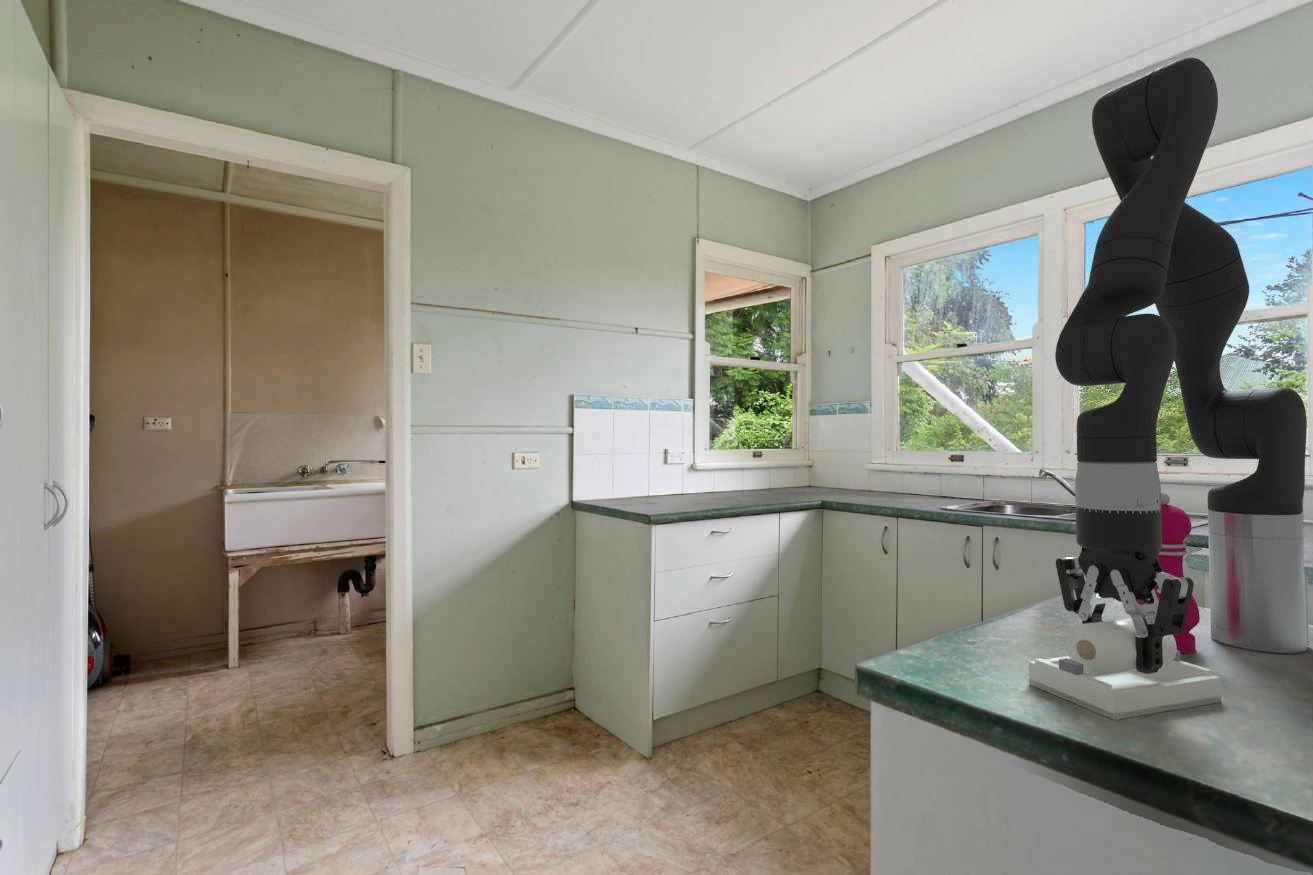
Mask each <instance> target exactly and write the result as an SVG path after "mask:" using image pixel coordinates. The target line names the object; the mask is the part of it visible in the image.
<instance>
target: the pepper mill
mask: <svg viewBox="0 0 1313 875" xmlns="http://www.w3.org/2000/svg"><path fill="white" fill-rule="evenodd" d="M1170 500H1171V498H1170V495H1168V494H1167V493H1165V492H1164V491H1163V492H1162V491H1161V520H1162V548H1161V550H1160V552H1159V555H1158V559H1159V563H1160V565H1161V567H1162V568H1163V572H1165V573H1168V574H1170V575H1173V576H1175V577H1178V578H1181V577H1185V575H1184V568H1183V564H1184V563H1183V561H1184V556H1185V555H1187V554H1188V551H1187V549H1186V548H1187V546H1188V544H1187V543H1185V542H1184V540H1185V539H1186V538H1187V537H1188V536H1189V535H1190V534H1191V532H1192V520H1191V518H1190V516H1189V515H1188V514H1187V512H1186V511H1185V510H1183V509H1182V508H1179V507H1177V506H1175V505H1171V504H1169V503H1170ZM1157 589H1159V586H1158V584H1157V585H1156V586H1155V587H1154V590H1155V593H1156V596H1157V598H1158V601H1159V599H1160V595H1161V594H1159V593H1158V592H1157ZM1137 603H1138V604H1139V605H1143V604H1144V601H1143V600H1142V601H1140V602H1137ZM1145 616H1146V615H1145ZM1200 619H1201V615H1200V609H1199V606H1198V603H1197V601H1196V599H1195V598H1194V595H1193V594H1192V596H1191V601H1190V605H1189V610H1188V614H1187V619H1186V623H1185V628H1184V632H1183V633H1181V634H1175V635H1173V636H1174V638H1175V641H1176V647H1177V650H1179V651H1180V654H1189V653H1193V652H1195V651H1196V636H1195V635H1194V634H1192V633H1191V631H1192V630H1193V629H1194V628H1195V627H1197V626H1198V624H1199V622H1200Z"/></svg>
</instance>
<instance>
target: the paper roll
mask: <svg viewBox="0 0 1313 875" xmlns="http://www.w3.org/2000/svg"><path fill="white" fill-rule="evenodd" d="M1146 619H1147V618H1146ZM1102 621H1103V622H1094V623H1086V624H1082V623H1081V624H1080V623H1079V624H1074V625H1072V626H1071V627H1070V628H1069V629H1068V631H1067V633H1066V636H1065V643H1064V644H1065V648H1066V653H1067V656H1069V658H1070V659H1071V660H1073V661H1075V662H1078V663H1081V664H1083V672H1084V673H1085V674H1087V675H1091V676H1099V675H1106V674H1113V673H1120V672H1127V671H1134V670H1137V669H1136V639H1135V636H1139V635H1138V634H1137V632H1136V629H1135V626H1134V623H1133V621H1132V618H1131V617H1129V618H1121V619H1111V620H1102ZM1147 622H1148V621H1147ZM1148 624H1149V623H1148ZM1162 649H1163V654H1162V655H1163V658H1162V659H1163V665H1162V666H1166V665H1168V664H1170V663H1171V662H1172V661H1173V660H1174V658H1175V656H1176V651H1177V647H1176V641H1175V638H1174V636H1173V635H1167V636H1164V637H1163V639H1162Z"/></svg>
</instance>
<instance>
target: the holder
mask: <svg viewBox="0 0 1313 875" xmlns="http://www.w3.org/2000/svg"><path fill="white" fill-rule="evenodd" d="M1028 677H1029V678H1028V679H1029V680H1028V682H1029V685H1030V686H1033V687H1035V688H1038V689H1039V690H1040V689H1041V690H1043V691H1045V692H1046V693H1049V694H1051V695H1054V696H1057V697H1059V698H1061V699H1064V700H1066V701H1069V703H1073V704H1075V705H1078V706H1080V707H1083V708H1085V709H1087V710H1090V711H1092V712H1094V713H1096V714H1099V715H1101V716H1104V717H1106V718H1108V719H1110V720H1113V721H1118V720H1122V719H1128V718H1129V719H1130V718H1134V717H1135V718H1136V717H1141V716H1146V715H1152V714H1153V715H1154V714H1158V713H1159V714H1160V713H1164V712H1169V711H1176V710H1182V709H1189V708H1193V707H1200V706H1205V705H1211V704H1216V703H1221V702H1222V686H1221V684H1222V683H1221V682H1222V681H1221V677H1220V676H1217V675H1214V674H1213V670H1212V669H1210V668H1207V667H1203V666H1200V665H1196V664H1193V663H1191V662H1186V661H1183V660H1181V653H1180V651H1179V650H1177V651H1176V656H1175V658H1174V660H1173V661H1172V662H1171V663H1170V664H1168V665H1166V666H1162V667H1161V668H1160V669H1159V670H1158V672H1156V673H1150V674H1144V673H1141V672H1138V671H1137V670H1134V671H1127V672H1120V673H1113V674H1106V675H1099V676H1091V675H1087V674H1085V673H1084V672H1083V664H1081V663H1078V662H1075V661H1073V660H1071V659H1070V658H1069V655H1067V656H1061V657H1051V658H1046V659H1045V658H1035V659H1034V660H1030V661H1028Z"/></svg>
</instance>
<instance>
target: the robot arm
mask: <svg viewBox="0 0 1313 875" xmlns="http://www.w3.org/2000/svg"><path fill="white" fill-rule="evenodd" d="M1218 108H1219V93H1218V86H1217V83H1216V80H1215V77H1214V75H1213V73H1212V71H1211V70H1210V68H1209V67H1208V66H1207V63H1205V61H1203V60H1201V59H1199V58H1196V57H1191V56H1190V57H1184V58H1181V59H1178V60H1175V61H1173V62H1170V63H1168V64H1166V65H1162V66H1160V67H1158V68H1156V69H1155V70H1152V71H1150V72H1148V73H1146V74H1143V75H1141V76H1139V77H1137V78H1135V79H1133V80H1131V81H1128V82H1126V83H1124V84H1122V85H1119V86H1117V87H1115V88H1114V89H1111V90H1109V91H1108V92H1105V93H1103V94H1102V95H1101V96H1099V97H1098V99H1097V100H1096V102H1095V103H1094V106H1093V108H1092V113H1091V125H1092V133H1093V136H1094V140H1095V143H1096V146H1097V150H1098V152H1099V155H1100V157H1101V159H1102V160H1101V161H1102V162H1103V164H1104V167H1105V169H1106V171H1107V173H1108V176H1109V178H1110V180H1111V183H1112V185H1113V187H1114V189H1115V192H1116V193H1117V196H1118V198H1119V200H1120V202H1119V204H1118V205H1117V206H1116V207H1115V209H1114V210H1113V211H1112V213H1111V214H1110V215H1109V216H1108V218H1107V219H1106V222H1105V223H1104V226H1103V227H1102V229H1101V231H1100V233H1099V234H1098V235H1099V236H1098V237H1097V240H1096V244H1095V247H1094V253H1093V258H1092V264H1091V266H1090V271H1089V272H1090V273H1089V278H1088V281H1087V284H1086V287H1085V289H1084V290H1083V292H1082V293H1081V296H1080V297H1079V299H1078V301H1077V303H1076V305H1075V307H1074V309H1072V312H1071V313H1070V315H1069V317H1068V319H1067V320H1066V323H1065V324H1064V326H1063V328H1062V329H1061V331H1060V334H1059V337H1058V340H1057V343H1056V347H1055V353H1054V354H1055V355H1054V356H1055V364H1056V368H1057V370H1058V372H1059V375H1060V376H1061V377H1062V378H1063V379H1064V381H1066V382H1067V383H1069V384H1070V385H1073V386H1077V387H1078V386H1079V387H1091V386H1092V387H1094V386H1104V385H1114V384H1115V385H1116V384H1118V385H1119V384H1124V387H1123V388H1122V391H1121V393H1120V394H1119V396H1118V397H1117V398H1116V400H1114V401H1113V402H1110V403H1107V404H1104V405H1100V406H1096V407H1092V408H1089V409H1086V410H1083V411H1082V412H1080V413H1079V415H1077V416H1078V417H1077V420H1076V460H1077V461H1076V462H1077V463H1076V464H1077V465H1076V467H1077V468H1076V474H1075V481H1074V482H1075V483H1074V484H1075V485H1074V487H1075V488H1074V493H1075V494H1074V496H1075V498H1074V500H1075V502H1074V503H1075V532H1076V533H1075V534H1076V535H1075V536H1076V537H1075V539H1076V540H1075V541H1076V544H1077V545H1078V546H1079V547H1080V548H1081V550H1080V553H1079V555H1078V557H1077V556H1074V557H1073V556H1071V557H1069V556H1067V557H1061V558H1060V557H1059V558H1057V559H1056V560H1055V568H1056V572H1057V577H1058V581H1059V587H1060V590H1061V597H1062V601H1063V605H1064V609H1065V610H1066V611H1067V612H1074V613H1075V614H1076V615H1078V618H1079V619H1080V620H1081V622H1082V623H1081V624H1086V623H1094V622H1103V621H1104V620H1103V619H1104V618H1105V616H1106V614H1107V610H1108V608H1109V605H1110V604H1112V603H1113V602H1114V601H1115V600H1116V601H1117V602H1120V603H1122V606H1123V609H1124V612H1125V613H1126V614H1127V615H1129V616H1130V618H1132V621H1133V623H1134V626H1135V629H1136V632H1137V634H1138V635H1139V636H1135V639H1136V669H1137V671H1138V672H1141V673H1144V674H1150V673H1156V672H1158V670H1159V669H1160V668H1161V667H1162V665H1163V659H1162V658H1163V655H1162V654H1163V649H1162V639H1163V637H1164V636H1167V635H1175V634H1181V633H1183V632H1184V628H1185V623H1186V619H1187V614H1188V610H1189V605H1190V601H1191V596H1192V595H1193V591H1194V586H1195V583H1194V581H1193V579H1192V578H1191V577H1188V576H1184V577H1181V578H1178V577H1175V576H1173V575H1170V574H1168V573H1165V572H1163V568H1162V567H1161V565H1160V563H1159V559H1158V555H1159V552H1160V550H1161V548H1162V520H1161V492H1162V489H1161V487H1162V486H1161V479H1160V475H1159V469H1158V459H1157V458H1158V452H1157V449H1158V448H1157V447H1158V446H1157V424H1158V423H1157V422H1158V417H1159V413H1160V409H1161V404H1162V400H1163V398H1164V397H1163V396H1164V392H1165V389H1166V387H1167V383H1168V381H1169V378H1170V374H1171V372H1172V369H1173V366H1174V365H1175V369H1176V373H1177V377H1178V381H1179V382H1178V383H1179V387H1180V393H1181V397H1182V402H1183V407H1184V413H1185V416H1186V421H1187V425H1188V430H1189V433H1190V437H1191V438H1192V441H1193V443H1194V445H1195V447H1196V448H1197V450H1198V452H1200V453H1201V454H1202V455H1204V456H1206V457H1207V458H1212V459H1219V460H1220V459H1221V460H1223V459H1224V460H1258V462H1257V467H1256V470H1255V471H1254V472H1253V473H1252V474H1250V475H1248V476H1246V477H1245V478H1243V479H1241V480H1238V481H1235V482H1232V483H1228V484H1223V485H1219V486H1216V487H1212V488H1210V489H1209V491H1208V492H1207V527H1208V528H1207V531H1208V533H1207V534H1208V565H1209V566H1208V568H1209V569H1208V570H1209V572H1208V573H1209V576H1208V577H1209V613H1210V616H1209V618H1210V637H1211V638H1212V639H1213V640H1215V641H1217V642H1220V643H1223V644H1225V645H1229V646H1233V647H1237V648H1242V649H1246V650H1251V651H1258V652H1266V653H1279V654H1298V653H1303V652H1306V651H1307V647H1308V646H1310V626H1309V625H1310V624H1309V591H1308V590H1309V589H1308V588H1309V585H1308V584H1309V583H1308V573H1307V572H1306V571H1305V546H1304V545H1305V544H1304V542H1305V541H1304V517H1303V516H1304V514H1303V512H1304V505H1303V504H1304V503H1303V502H1304V495H1305V485H1306V475H1305V474H1306V470H1305V469H1306V468H1305V467H1306V451H1307V450H1306V448H1307V434H1308V431H1307V428H1308V422H1307V412H1306V411H1307V410H1306V407H1305V406H1306V405H1305V403H1304V401H1303V399H1302V397H1301V395H1300V393H1298V392H1297V391H1295V390H1294V389H1293V388H1289V387H1279V386H1278V387H1263V388H1262V387H1261V388H1247V389H1243V388H1242V389H1233V390H1232V389H1231V390H1227V389H1226V388H1225V386H1224V383H1223V382H1222V377H1221V376H1222V375H1221V367H1220V366H1221V359H1222V355H1223V353H1224V350H1225V348H1226V345H1227V344H1228V341H1229V339H1230V337H1231V335H1232V334H1233V332H1234V330H1235V328H1236V326H1237V324H1238V323H1239V321H1240V319H1241V318H1242V315H1243V313H1244V311H1245V309H1246V306H1247V304H1248V301H1249V296H1250V284H1249V279H1248V276H1247V272H1246V268H1245V265H1244V262H1243V259H1242V255H1241V251H1240V249H1239V246H1238V243H1237V241H1236V239H1235V238H1234V237H1233V236H1232V235H1231V234H1230V232H1228V231H1227V230H1226V229H1225V228H1223V227H1222V226H1221V225H1220V224H1218V223H1217V222H1216V221H1214V220H1213V219H1212V218H1210V217H1208V216H1207V215H1206V214H1204V213H1202V212H1201V211H1199V210H1198V209H1196V208H1194V207H1193V206H1191V205H1189V204H1188V203H1187V202H1185V201H1186V199H1187V196H1188V194H1189V192H1190V189H1191V186H1192V184H1193V182H1194V179H1195V176H1196V174H1197V171H1198V169H1199V167H1200V164H1201V161H1202V158H1203V155H1204V153H1205V151H1206V148H1207V146H1208V144H1209V140H1210V138H1211V135H1212V133H1213V129H1214V126H1215V122H1216V119H1217V115H1218V114H1217V113H1218ZM1153 305H1155V308H1156V311H1157V313H1158V314H1155V313H1139V314H1134V313H1136V312H1140V311H1142V310H1144V309H1147V308H1148V307H1149V308H1150V307H1151V306H1153ZM1085 577H1086V580H1085ZM1157 584H1158V586H1159V589H1157V592H1158V593H1159V594H1161V595H1160V599H1159V601H1158V598H1157V596H1156V593H1155V590H1154V587H1155V586H1156V585H1157ZM1142 600H1143V601H1144V604H1143V605H1139V604H1138V603H1137V602H1140V601H1142ZM1145 615H1146V616H1145ZM1146 618H1147V619H1146ZM1147 621H1148V622H1147ZM1148 623H1149V624H1148Z"/></svg>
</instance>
